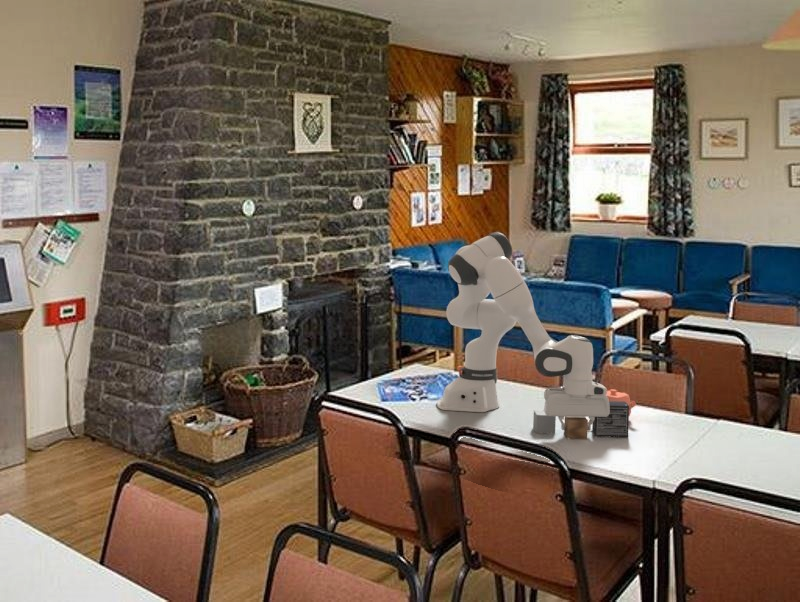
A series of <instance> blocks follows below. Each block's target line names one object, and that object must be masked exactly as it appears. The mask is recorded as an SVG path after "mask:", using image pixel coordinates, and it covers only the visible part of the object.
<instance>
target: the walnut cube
mask: <svg viewBox="0 0 800 602" xmlns="http://www.w3.org/2000/svg"><path fill="white" fill-rule="evenodd" d="M588 422H589V420H588V419H587V417H568V416H564V423H566V424H567V430H563V434H564V435H565V437H566V438H567V439H568V440H588V432H589V431H588Z"/></svg>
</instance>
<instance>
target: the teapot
mask: <svg viewBox="0 0 800 602" xmlns="http://www.w3.org/2000/svg"><path fill="white" fill-rule="evenodd" d="M606 396H607V397H608V399H609V401H624V402H626V403H627V404H628V405H629V417H630V416H631V413H632V409H633V408H635V407H636V406H637V403H636V401H634V400H631V399H630V394H627V393H626V392H619V391H618V390H617V389H613V388H612V389H611V388H610V389H609V390H607V394H606Z"/></svg>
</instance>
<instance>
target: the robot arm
mask: <svg viewBox="0 0 800 602" xmlns="http://www.w3.org/2000/svg"><path fill="white" fill-rule="evenodd" d="M512 256H513V246H512V244H511V242H510V240H509V239H508V237H507V236H506V235H504V233H501V232H499V231H494V232H492V233H491V232H490V233H489V234H488V233H487V235H486V236H484V237H482V238H479V239H477V240H476V241H473V242H472V243H471V244H469V245H465V246H462V247H460V248H459V249H457V250H456V252H455V254H454V255H453V256H452V257H451V258H450V259H449V261H448V264H447V268H448V272H449V275H450V277H451V278H452V279H453V280H454V281H455V282H456V283H457V286H458V295H457V296H456V297H455V298H453V299H451V301H449V303H448V305H447V306H446V312H445V313H446V314H445V315H446V319H447V320H448V323H450V325H452V326H454V327H458V328H461V329H472V330H481V335H480V336H479V337H477V338H474V339H472V340H470V341H469V342H468V343H467V344H466V346H465V351H464V354H465V357H464V366H463V365H458V366H457V368H456V369H457V371H458V377H457V378H456V379H454V380H453V381H452V382H450V383H449V384H447V385H445V388H444V390H443V393H442V394H443V395H442V397H440V398H438V399H437V401H436V406H437V407H438V409H440V410H443V411H455V412H457V411H458V412H469V413H470V412H471V413H472V412H473V413H485V412H487V411H493V410H497V409H498V408H499V407H500V403H499V399H498V391H497V382H498V369H497V353H498V346H499V344H500V341H501V339H502V338H503V336H504V335H506V333H508V332H509V331H510V330H512V329H513V328H514V327H515V325H516V324H518V325H519V326H520V327H521V329H522V331H523V332H524V334H525V336H526V337H527V339H528V341H529V342H530V345H531V347H532V356H533V360H534V365H535V369H536V370H537V372H538V373H539V374H540V375H542V376H544V377H546V378H548V377H549V378H553V377H555V378H556V377H562V376H563V384H562V385H563V386H549V387H547V388H546V389H545V390H544V395H543V397H544V400H545V401H544V405H543V406H544V407H543V410H544V412H545V414H546V415H547V416H556V417H558V420H559V422H560V424H561V426H560V427H561V430H562V431H564V430H567V424H566V423H565V422H564V421H565V416H568V417H585V418H588V419H589V420H588V430H592V428H591V427H592V423H593V422H594V420H595V417H607V416H608V415H609V414H610V405H609V399H608V397H607V396H606V394H607V391H608V389H607V387H606V386H604V385H603V384H601V383H598V382H596V381H593V374H592V370H593V365H594V348H593V343H592V342H591V340H589V339H588V338H587V337H584V336H581V335H576V334H571V335H568V336H567V337H565V338H564V339H562V340H559V341H556V340H555V339H554V338H552V337H551V336H550V334H548V332H547V330H546V329H545V327H544V325H543V324H542V321H541V320H540V318H539V317H538V314H537V313H536V308H535V306H534V301H533V297H532V294H531V291H530V289H529V287H528V285H527V283H526V281H525V280H524V278H523V276H522V275H521V273H520V272H519V271H518V269H517V268H516V266H515V265H514V264H513V263H512V261H511V260H510V258H511V257H512ZM489 295H491V296H492V298H493V299H491V298H487V297H488V296H489Z"/></svg>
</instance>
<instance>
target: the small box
mask: <svg viewBox="0 0 800 602" xmlns="http://www.w3.org/2000/svg"><path fill="white" fill-rule="evenodd" d="M609 405H610V414H609V415H608V416H607V417H595V420H594V422H593V423H592V425H591V427H592V428H591V430H592V431H591V432H592V434H593V436H594V438H596V437H597V438H620V439H621V438H626V439H629V437H630V436H629V426H630V424H629V423H630V421H629V419H630V418H629V417H630V416H629V405H628V404H627V403H626V402H624V401H609Z"/></svg>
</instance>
